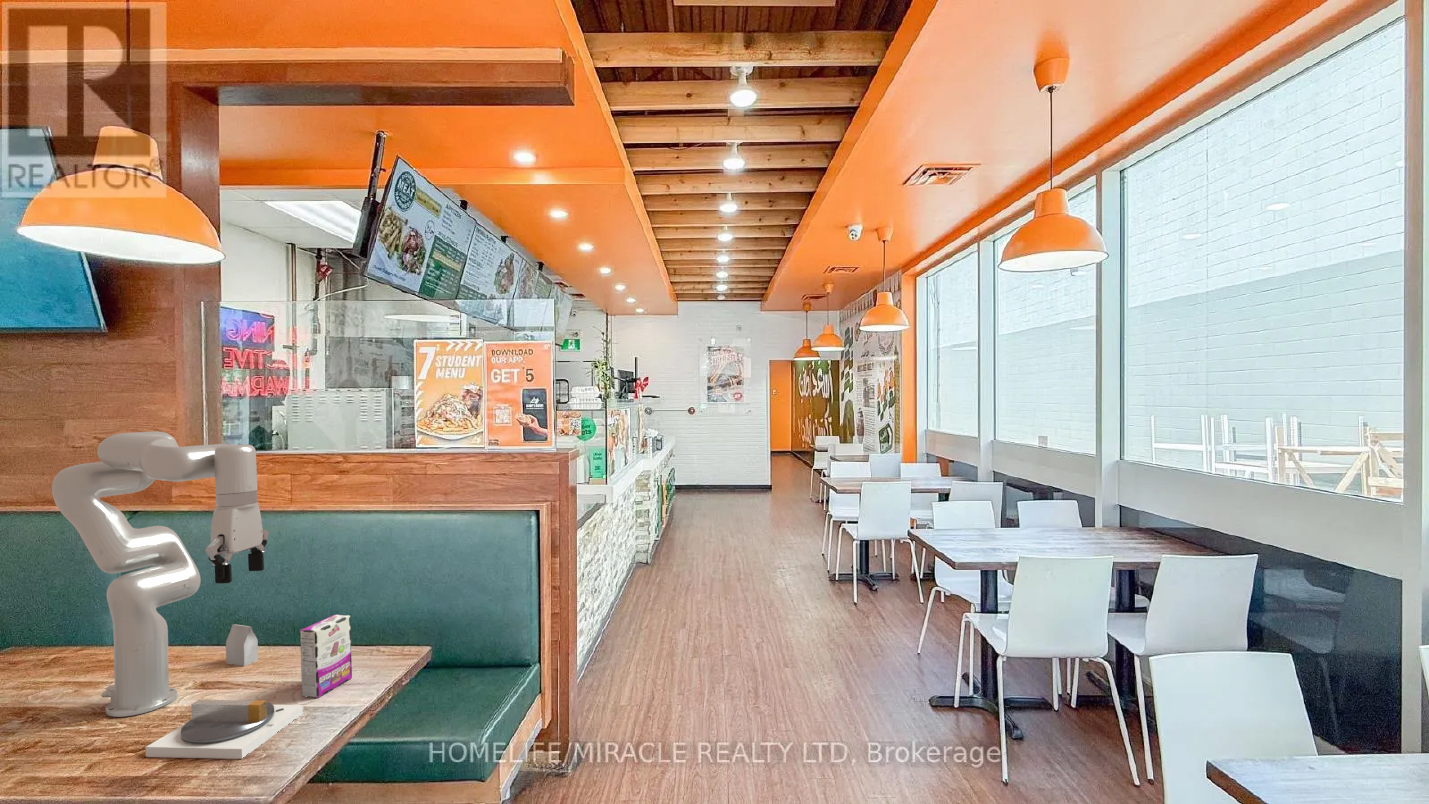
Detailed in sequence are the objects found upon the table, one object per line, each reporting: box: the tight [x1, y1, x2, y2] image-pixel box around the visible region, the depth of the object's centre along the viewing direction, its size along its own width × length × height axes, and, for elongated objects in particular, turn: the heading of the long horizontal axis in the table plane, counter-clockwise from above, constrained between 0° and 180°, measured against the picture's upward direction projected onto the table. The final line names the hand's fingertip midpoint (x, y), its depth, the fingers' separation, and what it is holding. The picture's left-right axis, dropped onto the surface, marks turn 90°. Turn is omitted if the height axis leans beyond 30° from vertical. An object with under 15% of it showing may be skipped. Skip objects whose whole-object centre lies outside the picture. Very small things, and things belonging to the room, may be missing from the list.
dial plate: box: [145, 704, 304, 760], centre depth 138 cm, size 20×18×2 cm
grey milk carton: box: [225, 624, 259, 667], centre depth 175 cm, size 4×7×10 cm, turn 72°
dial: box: [181, 699, 274, 744], centre depth 138 cm, size 16×16×5 cm
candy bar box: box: [299, 614, 353, 699], centre depth 159 cm, size 11×5×16 cm, turn 168°
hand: (240, 576), depth 143 cm, fingers open, 9 cm apart
